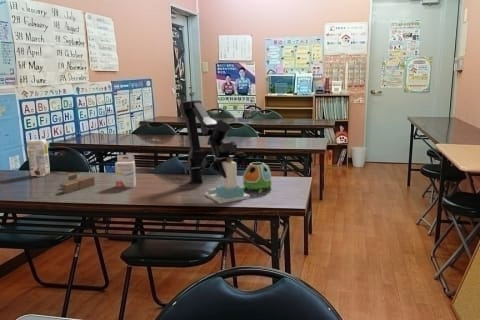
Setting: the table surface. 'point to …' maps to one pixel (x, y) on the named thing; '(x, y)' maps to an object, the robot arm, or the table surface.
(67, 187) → the wooden block set
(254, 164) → the turtle holder
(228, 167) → the block
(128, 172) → the ink cartridge box
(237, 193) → the cleat stand
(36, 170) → the juice carton
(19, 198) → the table surface
